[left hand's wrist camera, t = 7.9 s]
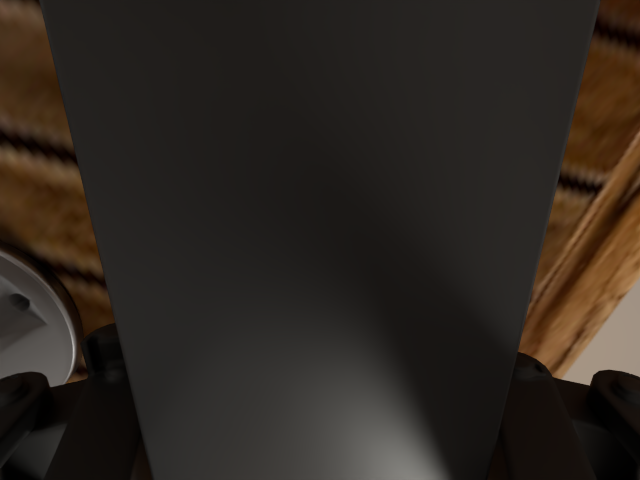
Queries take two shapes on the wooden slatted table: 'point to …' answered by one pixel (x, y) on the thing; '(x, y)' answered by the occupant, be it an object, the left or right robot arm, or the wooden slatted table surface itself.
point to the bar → (319, 219)
